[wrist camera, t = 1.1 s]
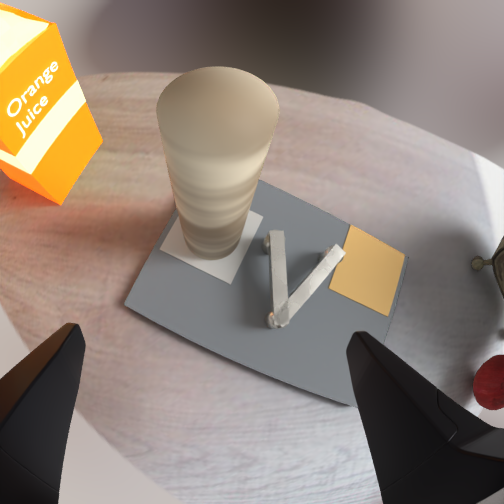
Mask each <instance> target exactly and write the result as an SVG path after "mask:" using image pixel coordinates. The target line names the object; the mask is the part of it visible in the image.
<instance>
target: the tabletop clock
mask: <svg viewBox="0 0 504 504" xmlns="http://www.w3.org/2000/svg"><path fill="white" fill-rule="evenodd" d="M471 264H472V268H473V269H474V270H477V271H479V270H481V269H482V268H483V266H484V265H492V267H493V272H494V275H495V278H496V281H497V283H498V286H499V288H500V291H501V293H502V296H503V298H504V236H503V238H502V240H501V242H500V244H499V246H498V248H497V250H496V251H495V253H494V255H493V257H492V259H488V260H483V258H482V257H480V256H476V257H474V258H473V260H472V263H471Z"/></svg>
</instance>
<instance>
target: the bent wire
mask: <svg viewBox="0 0 504 504" xmlns="http://www.w3.org/2000/svg"><path fill="white" fill-rule="evenodd" d="M262 251H263V252H264V253H265V254H266V255H268V260H269V280H270V303H271V311H269V312H268V313H267V314H266V316H265V324H266V325H267V327H269V328H271V329H280V328H284V327H286V326H287V325H288V324H289V321H290V319H291V318H292V317H293V315H294V314H295V313H296V312H297V311H298V310H299V309H300V307H301V306H302V305H303V304H304V303H305V302H306V301H307V299H308V298H309V297H310V296H311V295H312V294H313V292H314V291H315V290H316V289H317V288H318V286H319V285H320V284H321V283H322V282H323V280H324V279H325V278H326V277H327V276H328V274H329V273H330V272H331V271H332V270H333V268H334V267H335V266H336V265H337V264H338V263H340V262H341V261H342V260H343V257H344V255H345V254H346V252H345V251H343V250H342V249H341V248H340V247H339V246H338V245H337V244H335V245H332V246H330V247H328V248H327V249H326V250H325V251H323V252H322V253H321V254H320V255H319V256H318V264H317V265H316V266H315V267H314V268H313V269H312V271H311V272H310V273H309V274H308V275H307V276H306V277H305V279H304V280H303V281H302V282H301V283H300V284H299V285H298V287H297V288H296V289H295V290H294V291H293V292H292V293H291V294H290V296H289V297H288V290H287V273H286V257H285V236H284V231H279V230H270V231H269V232H268V234H267V235H266V237H265V239H264V241H263V243H262Z"/></svg>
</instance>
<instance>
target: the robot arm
mask: <svg viewBox="0 0 504 504" xmlns="http://www.w3.org/2000/svg"><path fill="white" fill-rule="evenodd" d="M85 346H86V345H85V340H84V337H83V334H82V331H81V329H80V326H79V325H78V324H75V323H66V324H65V325H63V326H62V327H61V328H60V329H59V330H57V331H56V332H55V333H54V334H52V335H51V336H50V337H49V338H48V339H46V340H45V341H44V342H43V343H42V344H40V345H39V346H38V347H37V348H36V349H34V350H33V351H32V352H31V353H30V354H28V355H27V356H26V357H25V358H24V359H23V360H21V361H20V362H19V363H18V364H17V365H16V366H15V367H13V368H12V369H11V370H10V371H9V372H8V373H7V374H5V375H4V376H3V377H2V378H1V379H0V504H58V499H59V488H60V481H61V474H62V467H63V461H64V455H65V449H66V443H67V438H68V433H69V428H70V423H71V419H72V414H73V410H74V406H75V402H76V397H77V393H78V389H79V384H80V377H81V371H82V365H83V359H84V353H85ZM346 356H347V361H348V366H349V371H350V377H351V382H352V387H353V392H354V396H355V399H356V403H357V406H358V409H359V413H360V416H361V420H362V423H363V427H364V430H365V434H366V437H367V441H368V445H369V448H370V452H371V456H372V460H373V464H374V467H375V471H376V475H377V479H378V483H379V487H380V491H381V496H382V501H383V504H504V429H503V428H496V427H493V426H491V425H489V424H487V423H485V422H484V421H482V420H481V419H479V418H478V417H476V416H475V415H473V414H472V413H470V412H469V411H467V410H466V409H464V408H463V407H462V406H460V405H459V404H457V403H456V402H454V401H453V400H452V399H451V398H449V397H448V396H447V395H445V394H444V393H443V392H442V391H440V390H439V389H437V387H435V386H434V385H433V384H432V383H430V382H429V381H428V380H427V379H425V378H424V377H423V376H422V375H420V374H419V373H418V372H417V371H415V370H414V369H413V368H412V367H411V366H409V365H408V364H407V363H406V362H404V361H403V360H402V359H401V358H399V357H398V356H397V355H396V354H394V353H393V352H392V351H391V350H389V349H388V348H387V347H386V346H384V345H383V344H382V343H381V342H379V341H378V340H377V339H375V338H374V337H373V336H372V335H370V334H369V333H368V332H367V331H355V332H354V333H353V334H352V336H351V339H350V341H349V343H348V346H347V349H346Z"/></svg>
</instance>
